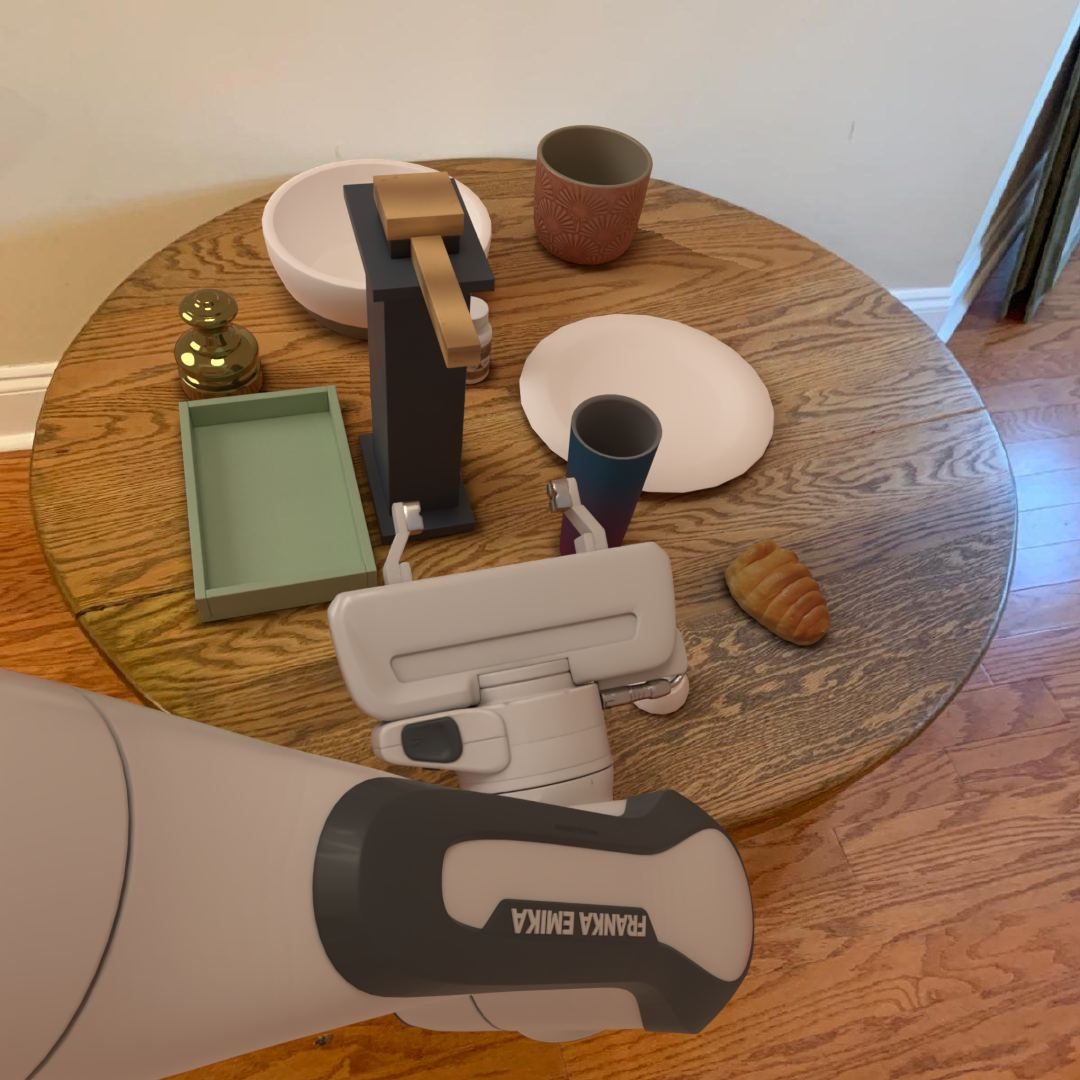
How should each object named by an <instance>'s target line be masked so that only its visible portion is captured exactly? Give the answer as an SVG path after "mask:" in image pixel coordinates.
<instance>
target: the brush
mask: <svg viewBox="0 0 1080 1080" xmlns="http://www.w3.org/2000/svg"><path fill="white" fill-rule="evenodd" d="M449 176H450V175H449V173H448V171H439V172H428V173H411V174H394V175H378V176H373V191H374V199H375V203H376V206H377V216H378V219H379V222H380V225H381V229H382V232H383V235H384V238H385V241H386V245H387V248H388V251H389V254H390V258H391V259H394V258H406V257H411V260H412V263H413V266H414V269H415V272H416V275H417V278H418V281H419V284H420V287H421V290H422V293H423V296H424V299H425V302H426V305H427V308H428V311H429V314H430V317H431V320H432V323H433V326H434V329H435V332H436V335H437V338H438V342H439V345H440V348H441V351H442V354H443V357H444V360H445V363H446V366H447V368H455V367H464V366H473V365H479V364H480V353H481V343H480V340H479V338H478V335H477V332H476V330H475V327H474V324H473V321H472V319H471V316H470V313H469V311H468V308H467V305H466V302H465V300H464V297H463V294H462V292H461V289H460V286H459V283H458V281H457V278H456V275H455V273H454V270H453V267H452V264H451V262H450V259H449V256H448V254H455V253H459V248H460V235H463V227H464V212H463V210H462V207H461V205H460V202H459V200H458V197H457V195H456V192H455V190H454V187H453V185H452V182H451V180H450V177H449Z"/></svg>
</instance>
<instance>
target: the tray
mask: <svg viewBox="0 0 1080 1080" xmlns="http://www.w3.org/2000/svg"><path fill="white" fill-rule="evenodd" d="M178 413H179V414H178V415H179V426H180V437H181V448H182V449H181V450H182V462H183V471H184V481H185V495H186V496H185V497H186V506H187V507H186V509H187V518H188V530H189V541H190V542H189V544H190V553H191V554H190V555H191V564H192V576H193V577H192V578H193V588H194V599H195V603H196V606H197V609H198V613H199V616H200V620H201V623H208V622H215V621H221V620H227V619H234V618H238V617H244V616H250V615H251V616H252V615H255V614H262V613H268V612H274V611H275V612H276V611H279V610H280V611H281V610H286V609H292V608H298V607H299V608H300V607H304V606H311V605H315V604H316V605H317V604H322V603H328V602H329V603H330V602H332V601H333V600H334V598H335V597H336V596H337V595H338V594H339V593H342V592H348V591H354V590H360V589H366V588H372V587H378V586H379V584H378V582H379V581H378V568H377V564H376V559H375V555H374V551H373V546H372V542H371V538H370V534H369V533H370V532H369V529H368V525H367V520H366V515H365V512H364V507H363V502H362V498H361V493H360V490H359V489H360V488H359V484H358V480H357V476H356V471H355V467H354V463H353V457H352V454H351V450H350V445H349V440H348V436H347V432H346V427H345V423H344V418H343V413H342V409H341V405H340V401H339V395H338V391H337V387H336V384H328V385H320V386H312V387H303V388H294V389H293V388H292V389H284V390H277V391H276V390H275V391H267V392H258V393H257V394H248V395H239V396H230V397H221V398H212V399H203V400H195V401H193V400H188V401H186V400H185V401H179V402H178Z"/></svg>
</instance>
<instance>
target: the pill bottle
mask: <svg viewBox="0 0 1080 1080" xmlns="http://www.w3.org/2000/svg"><path fill="white" fill-rule="evenodd" d="M489 313H490V311H489V305H488V303H487V302H486V301H485V300H484V299H481V298H480V297H477V296H472V295H471V304H470V316H471V319H472V321H473V324H474V327H475V330H476V332H477V335H478V338H479V340H480V343H481V353H480V364H479V365H473V366H467V372H466V385H474V384H477V383H480V382H482V381H484V380H485V379H486V378H487V376H488V375H489V371H490V361H491V354H492V342H493V327H492V325H491V323H490V322H489Z"/></svg>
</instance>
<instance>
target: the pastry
mask: <svg viewBox="0 0 1080 1080" xmlns="http://www.w3.org/2000/svg"><path fill="white" fill-rule="evenodd" d="M799 562H800V561H799V557H798V555H797V553H796V552H794V551H793V550H792V549H788V548H787V549H784V548H782V547H781V545H779V544H778V543H776V541H775V540H774V539H770V538H767V539H765V540H762V541H759V542H757V543H754V544H752V545H751V546H749V547H748V548H747V549H746V550H745V551H744V552H741V553H740V554H739V555H738V556H737V557H736V558H735V559H734V560H733V561H732V562H731V563H730V564H729V565H728V567H726V569H725V570H724V578H725V582H726V585H727V587H728V590H729V593H730V595H731V598H732V599H733V600H735V601H736V602H737V604H738V605H739V608H740V609H742V610H743V611H744V612H746V613H747V614H748V615H749V616H750V617H751V618H753V619H754V620H756V621H757V622H758V623H759V624H760V625H761V626H764V627H765V628H766V629H767V630H768V631H770V632H772V633H773V635H776V636H777V637H779V638H781V639H783V640H784V641H788V642H791V643H793V644H796V645H798V646H810V645H813V644H815V643H817V642H819V641H820V640H821V639H822V638H823V637H824V636H825V635H826V634H827V633H828V632H829V631H830V630H831V621H832V618H831V614H830V612H829V610H828V605H827V604H828V603H827V602H828V601H827V599H826V598H825V597H824V596H823V595H822V594H821V590H820V584H819V582H818V581H816V580H815V579H813V578H814V577H813V574H812V572H811V571H810V569H809V568H808V566H807V565H806V564H805V563H799Z"/></svg>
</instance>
